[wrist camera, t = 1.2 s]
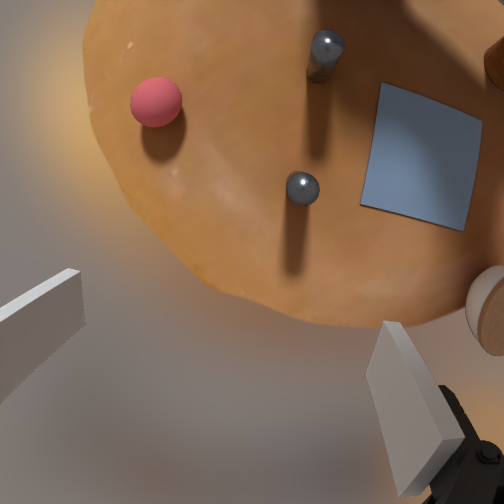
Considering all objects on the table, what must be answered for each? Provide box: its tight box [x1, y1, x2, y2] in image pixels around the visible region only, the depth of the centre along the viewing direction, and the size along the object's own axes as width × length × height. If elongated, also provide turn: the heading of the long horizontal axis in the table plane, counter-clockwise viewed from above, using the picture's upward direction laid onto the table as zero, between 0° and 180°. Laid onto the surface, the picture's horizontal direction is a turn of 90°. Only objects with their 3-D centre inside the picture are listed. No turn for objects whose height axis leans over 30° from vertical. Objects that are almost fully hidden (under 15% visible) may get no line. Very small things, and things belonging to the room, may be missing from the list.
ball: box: [130, 77, 182, 127], centre depth 30 cm, size 6×6×6 cm
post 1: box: [286, 171, 320, 206], centre depth 29 cm, size 3×3×9 cm
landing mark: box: [360, 82, 483, 231], centre depth 31 cm, size 14×14×1 cm
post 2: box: [306, 30, 344, 83], centre depth 26 cm, size 3×3×9 cm
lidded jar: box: [465, 265, 504, 356], centre depth 30 cm, size 11×11×9 cm
